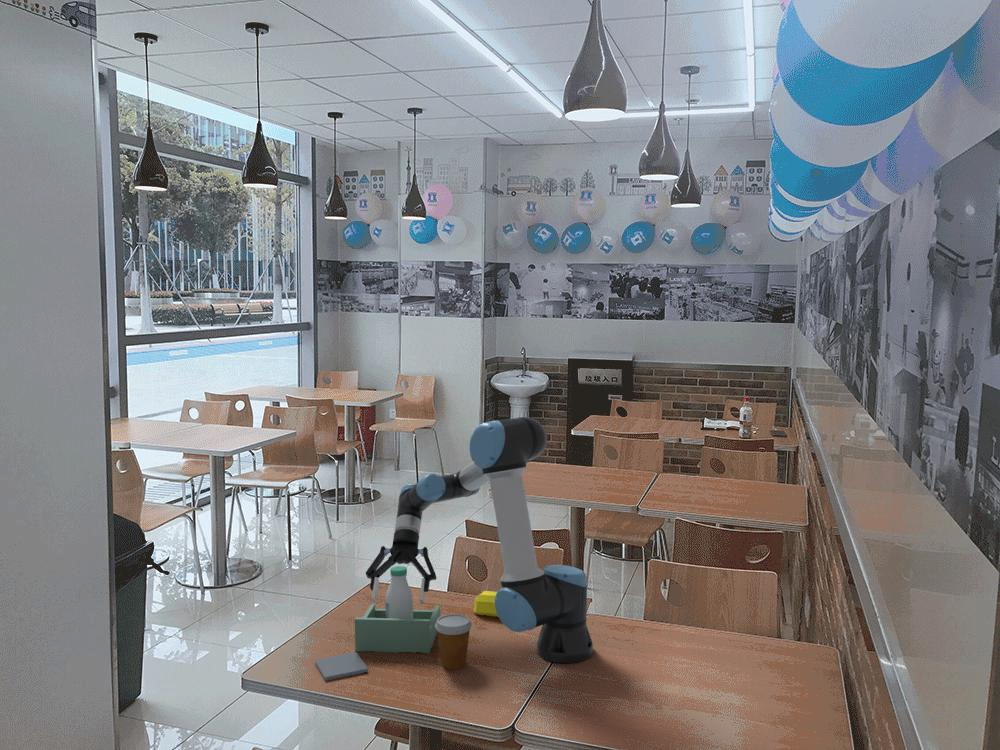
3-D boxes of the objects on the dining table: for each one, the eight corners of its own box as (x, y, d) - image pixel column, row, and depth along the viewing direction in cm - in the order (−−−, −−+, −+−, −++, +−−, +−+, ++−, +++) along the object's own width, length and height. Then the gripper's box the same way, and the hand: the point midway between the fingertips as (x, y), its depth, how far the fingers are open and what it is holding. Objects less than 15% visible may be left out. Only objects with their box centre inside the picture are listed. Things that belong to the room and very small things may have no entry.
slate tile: (368, 672, 213) (367, 668, 213) (325, 681, 209) (325, 677, 208) (356, 655, 223) (356, 652, 223) (315, 663, 218) (315, 659, 218)
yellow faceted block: (521, 625, 244) (532, 615, 251) (521, 602, 243) (532, 594, 250) (467, 615, 252) (478, 606, 258) (467, 593, 251) (478, 585, 258)
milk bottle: (418, 634, 237) (417, 565, 235) (404, 644, 230) (403, 574, 228) (395, 629, 240) (394, 562, 238) (380, 639, 233) (379, 570, 231)
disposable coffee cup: (455, 676, 211) (455, 630, 210) (428, 666, 217) (427, 621, 216) (479, 662, 219) (479, 618, 217) (451, 653, 224) (451, 610, 223)
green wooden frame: (372, 621, 246) (371, 592, 245) (440, 623, 245) (440, 593, 244) (355, 651, 226) (354, 619, 225) (429, 653, 224) (429, 621, 223)
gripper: (449, 540, 249) (443, 608, 235) (367, 539, 251) (356, 605, 237) (447, 528, 243) (440, 596, 230) (363, 526, 245) (351, 594, 232)
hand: (397, 601), depth 234 cm, fingers open, 13 cm apart
